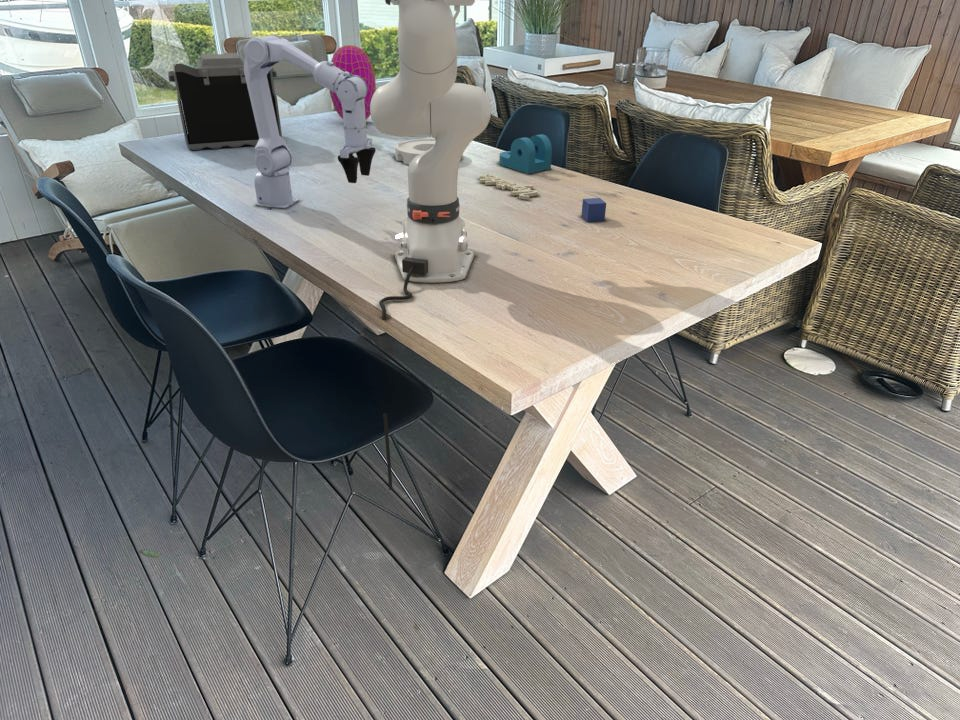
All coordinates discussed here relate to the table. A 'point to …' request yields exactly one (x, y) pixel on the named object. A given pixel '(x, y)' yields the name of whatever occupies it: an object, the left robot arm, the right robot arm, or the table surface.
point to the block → (593, 209)
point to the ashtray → (412, 149)
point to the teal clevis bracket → (528, 154)
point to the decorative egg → (354, 73)
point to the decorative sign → (509, 186)
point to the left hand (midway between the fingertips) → (358, 178)
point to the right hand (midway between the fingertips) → (433, 26)
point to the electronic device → (218, 102)
